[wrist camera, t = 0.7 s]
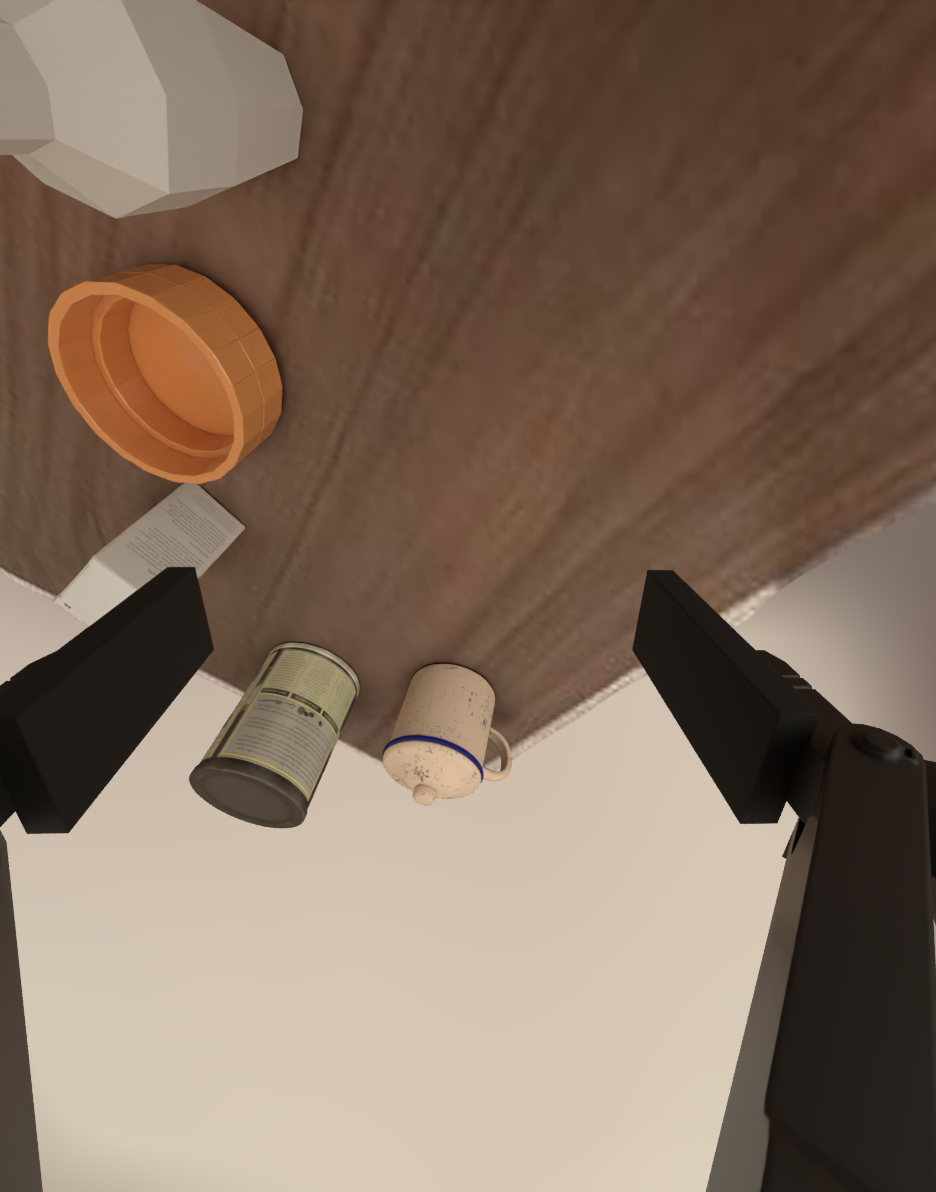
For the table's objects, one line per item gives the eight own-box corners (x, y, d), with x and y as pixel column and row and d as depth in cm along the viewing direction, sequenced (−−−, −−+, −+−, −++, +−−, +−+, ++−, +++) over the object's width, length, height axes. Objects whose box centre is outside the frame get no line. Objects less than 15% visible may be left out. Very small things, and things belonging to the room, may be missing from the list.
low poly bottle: (330, 198, 25) (-135, 298, 9) (213, 188, 26) (-402, 266, 10) (308, 5, 21) (-609, -408, 5) (170, 0, 22) (-1011, -376, 6)
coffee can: (363, 713, 57) (310, 839, 47) (276, 692, 58) (205, 812, 47) (359, 654, 50) (295, 787, 40) (260, 631, 51) (172, 757, 40)
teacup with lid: (396, 692, 53) (356, 798, 44) (431, 646, 47) (393, 758, 38) (495, 739, 55) (475, 848, 47) (540, 700, 49) (527, 818, 41)
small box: (202, 565, 46) (121, 651, 38) (147, 520, 43) (49, 603, 36) (249, 527, 41) (169, 615, 34) (191, 475, 39) (90, 557, 31)
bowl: (132, 213, 28) (52, 225, 24) (312, 350, 31) (269, 382, 27) (107, 376, 35) (43, 407, 31) (256, 475, 38) (215, 514, 34)
